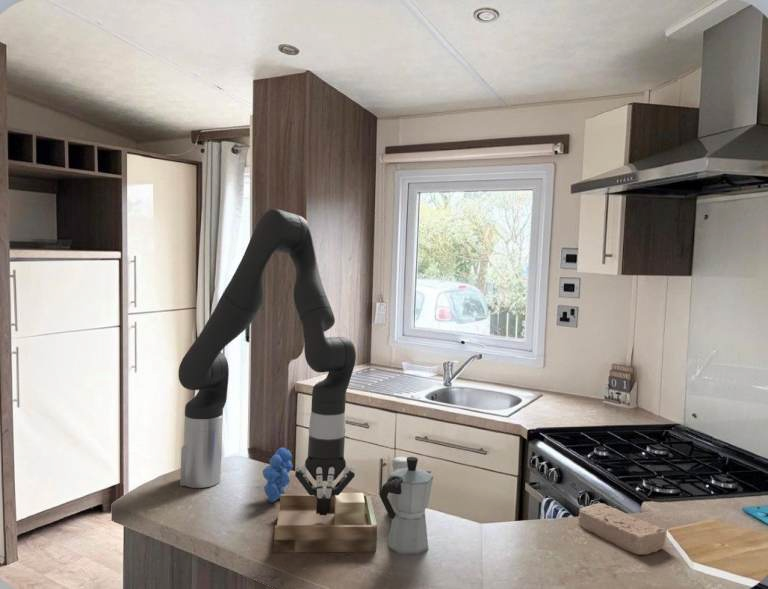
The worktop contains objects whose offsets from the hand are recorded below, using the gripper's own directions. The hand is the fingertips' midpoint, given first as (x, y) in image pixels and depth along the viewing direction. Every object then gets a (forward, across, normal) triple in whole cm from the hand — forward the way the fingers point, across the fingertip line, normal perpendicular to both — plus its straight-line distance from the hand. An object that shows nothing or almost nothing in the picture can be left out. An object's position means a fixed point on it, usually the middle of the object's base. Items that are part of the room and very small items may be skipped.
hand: (323, 513), depth 117 cm
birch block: (+2, -6, 0) cm, 6 cm away
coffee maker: (+4, -17, +6) cm, 18 cm away
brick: (+4, -65, +2) cm, 65 cm away
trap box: (+4, -1, 0) cm, 4 cm away
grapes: (+4, +11, -18) cm, 22 cm away
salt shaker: (+4, -18, -9) cm, 20 cm away
